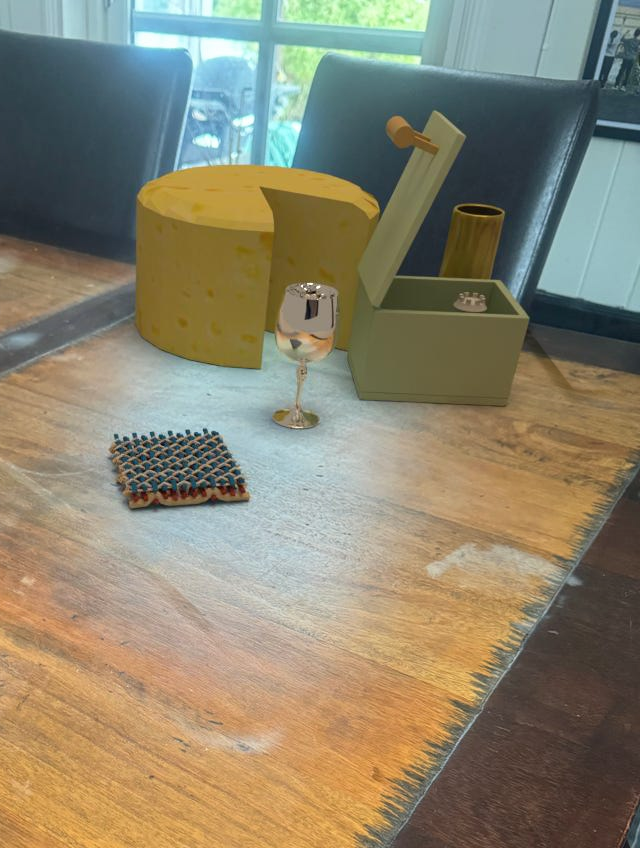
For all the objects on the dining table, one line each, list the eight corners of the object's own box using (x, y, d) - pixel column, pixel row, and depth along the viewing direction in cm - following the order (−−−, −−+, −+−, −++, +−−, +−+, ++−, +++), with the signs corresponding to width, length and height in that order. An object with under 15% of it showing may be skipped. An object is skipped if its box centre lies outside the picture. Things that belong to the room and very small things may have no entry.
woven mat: (126, 513, 75) (126, 491, 74) (106, 453, 83) (106, 432, 82) (252, 504, 77) (254, 481, 76) (220, 446, 85) (222, 425, 84)
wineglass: (319, 436, 87) (338, 305, 80) (259, 425, 89) (272, 296, 81) (331, 411, 92) (350, 285, 84) (273, 402, 93) (287, 277, 86)
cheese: (345, 382, 97) (369, 229, 88) (105, 350, 102) (104, 202, 93) (370, 304, 117) (392, 172, 108) (168, 280, 122) (173, 153, 113)
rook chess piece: (484, 374, 98) (503, 296, 93) (464, 386, 95) (483, 307, 90) (445, 362, 100) (462, 286, 95) (424, 374, 98) (441, 296, 93)
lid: (440, 113, 89) (393, 91, 88) (466, 136, 79) (414, 112, 78) (363, 270, 98) (319, 252, 97) (378, 308, 88) (330, 288, 88)
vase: (444, 330, 110) (472, 199, 102) (488, 346, 107) (521, 212, 98) (411, 341, 107) (437, 207, 99) (455, 358, 104) (487, 220, 95)
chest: (480, 362, 103) (500, 279, 98) (506, 406, 94) (530, 318, 88) (346, 356, 103) (359, 273, 98) (359, 399, 94) (374, 311, 89)
